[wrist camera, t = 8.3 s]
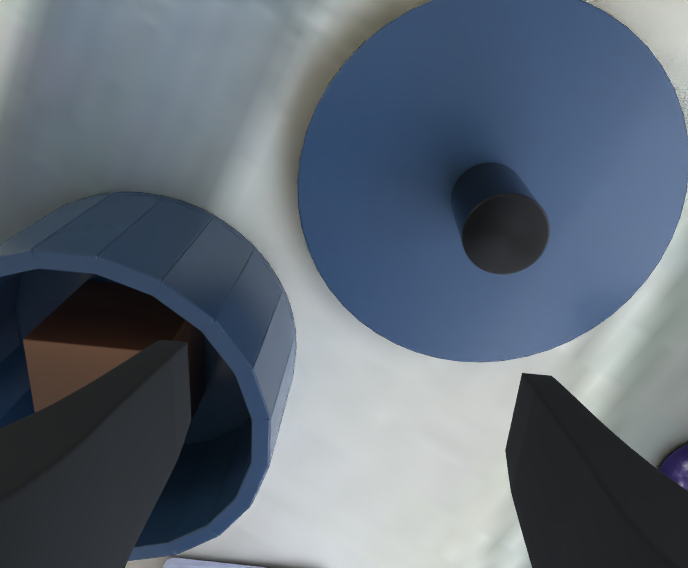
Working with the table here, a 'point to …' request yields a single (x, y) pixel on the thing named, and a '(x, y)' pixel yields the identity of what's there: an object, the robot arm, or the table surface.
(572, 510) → the robot arm
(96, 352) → the block
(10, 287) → the bowl
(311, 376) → the table surface
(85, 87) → the table surface
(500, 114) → the lid
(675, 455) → the toy lamp
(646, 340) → the table surface
